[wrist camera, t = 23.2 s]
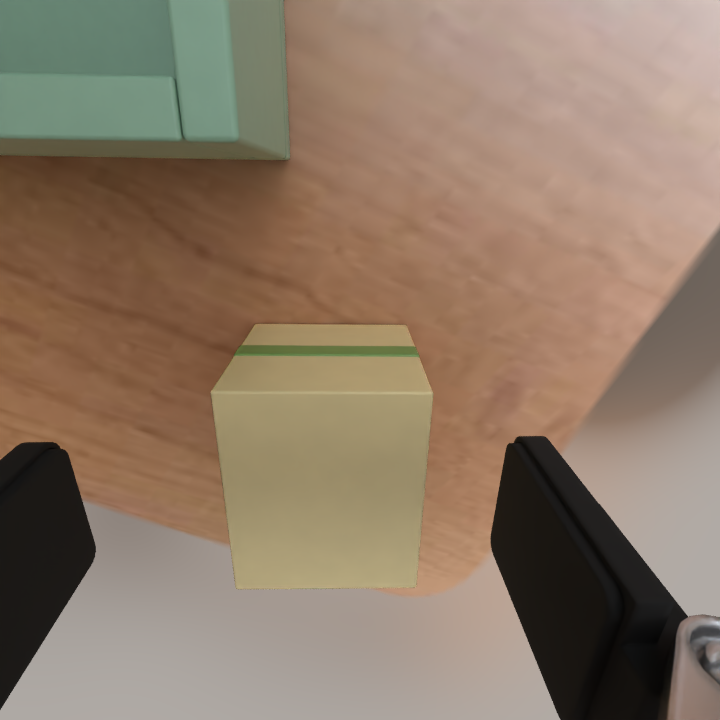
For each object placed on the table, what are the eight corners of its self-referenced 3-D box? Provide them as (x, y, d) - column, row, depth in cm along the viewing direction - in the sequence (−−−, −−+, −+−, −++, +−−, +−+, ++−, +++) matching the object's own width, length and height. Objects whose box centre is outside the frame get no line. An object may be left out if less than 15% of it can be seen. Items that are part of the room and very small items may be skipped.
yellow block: (267, 477, 15) (235, 591, 11) (254, 321, 13) (208, 389, 9) (397, 477, 15) (416, 590, 11) (407, 322, 13) (434, 390, 9)
